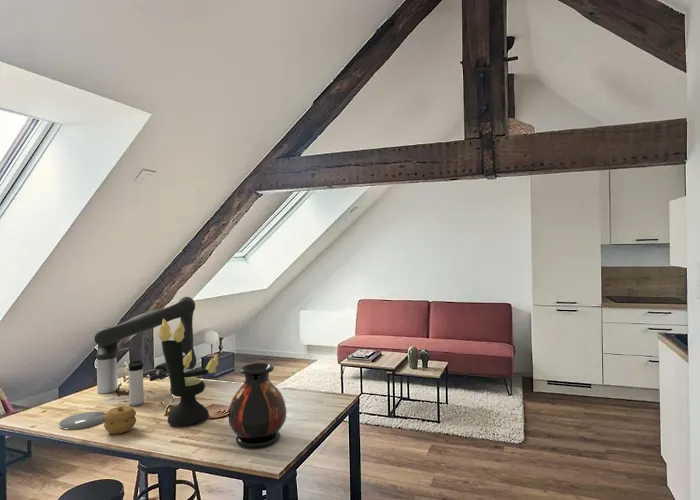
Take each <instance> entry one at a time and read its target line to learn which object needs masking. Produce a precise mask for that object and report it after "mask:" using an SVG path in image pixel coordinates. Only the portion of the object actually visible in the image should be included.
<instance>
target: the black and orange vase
mask: <svg viewBox="0 0 700 500" xmlns="http://www.w3.org/2000/svg"><path fill="white" fill-rule="evenodd" d="M274 370H275V367H274V365H272V364H270V363H264V362H261V363H260V362H258V363H248V364H246V365H243V366H241V367H240V368H239V372H240V374H243V375H244V379H245V380H244V382H243V384H242V385H241V386H240V387H239V389H237V391H236V392H235V394H234V395H233V396H232V399H231V402H230V404H229V409H228V415H227V416H228V423H229V426H230V428H231V430H232V431H233V432H234V433H235V434H236V437H235V442H236V444H237V445H238V446H240V447H242V448H245V449H252V450H253V449H255V450H257V449H263V448H266V447H269V446H272V445H274V444H276V443H277V442H278V441H279V440H280V438H281V432H280V430H281V429H282V428H283V425H284V424H285V422H286V419H287V407H286V406H287V405H286V402H285V398H284V396H283V395H282V393H281V391H280V390H279V389H278V388H277V386H275V385H274V383H273V382H272V381H271V380H270V378H269V375H270V373H271V372H273V371H274Z"/></svg>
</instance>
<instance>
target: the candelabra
mask: <svg viewBox="0 0 700 500" xmlns="http://www.w3.org/2000/svg"><path fill="white" fill-rule="evenodd" d="M184 330H185V329H184V326H183V324H182V322H181V320H180V322H179V324H178V326H177V327H176V329H175V330H174V333H173V334H172V332H171V326H170V325H169V323H168V322H166V320H165V319H164V318H163V320H162V325H160V327H159V332H158V338H159V339H160V341H161V347H162V352H163V357H164V361H165V362H166V365H167V369H168V374H169V377H168V378H169V383H170V389H169V390H170V393H171V394H172V395H173V396H174V397H179V398H180V401H179V403H178V404H177V405H176V406H175V407H174V408H173V409H172V411H171V410H170V412H169V415H167V421H166V422H167V423H168V425H170V426H171V427H175V428H187V427H188V428H189V427H193V426H197V425H200V424H202V423H205V422H206V421H207V420H208V418H209V417H210V412H209V411H208V410H209V409H207V407H206V406H204V405H203V404H201V402H199V401H197V398H196V395H199V394H201V393H202V392H204V390H205V389H206V384H205V382H204V381H203V380H202V379H201V378H199V376H205V375H208V374H214V373H216V372H217V371H216V369H217V366H218V365H219V358H218V357H219V355H218V353H216V354H215V355H214V357H212V358H211V359H210V360H209V361H208V362H207V365H206V367H205V368H201V369H197V370H196V369H195V370H191V371H186V372H185V370H187V369H186V368H188V367H189V365H190V362H191V360H192V350H191V351H190V352H189V353H188V354H187V355H186V356H185V357H184V359H183V355H184V353H183V352H182V343H181V341H182V340H183V338H184ZM171 337H172V338H173V340H171ZM184 368H185V370H184Z"/></svg>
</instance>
